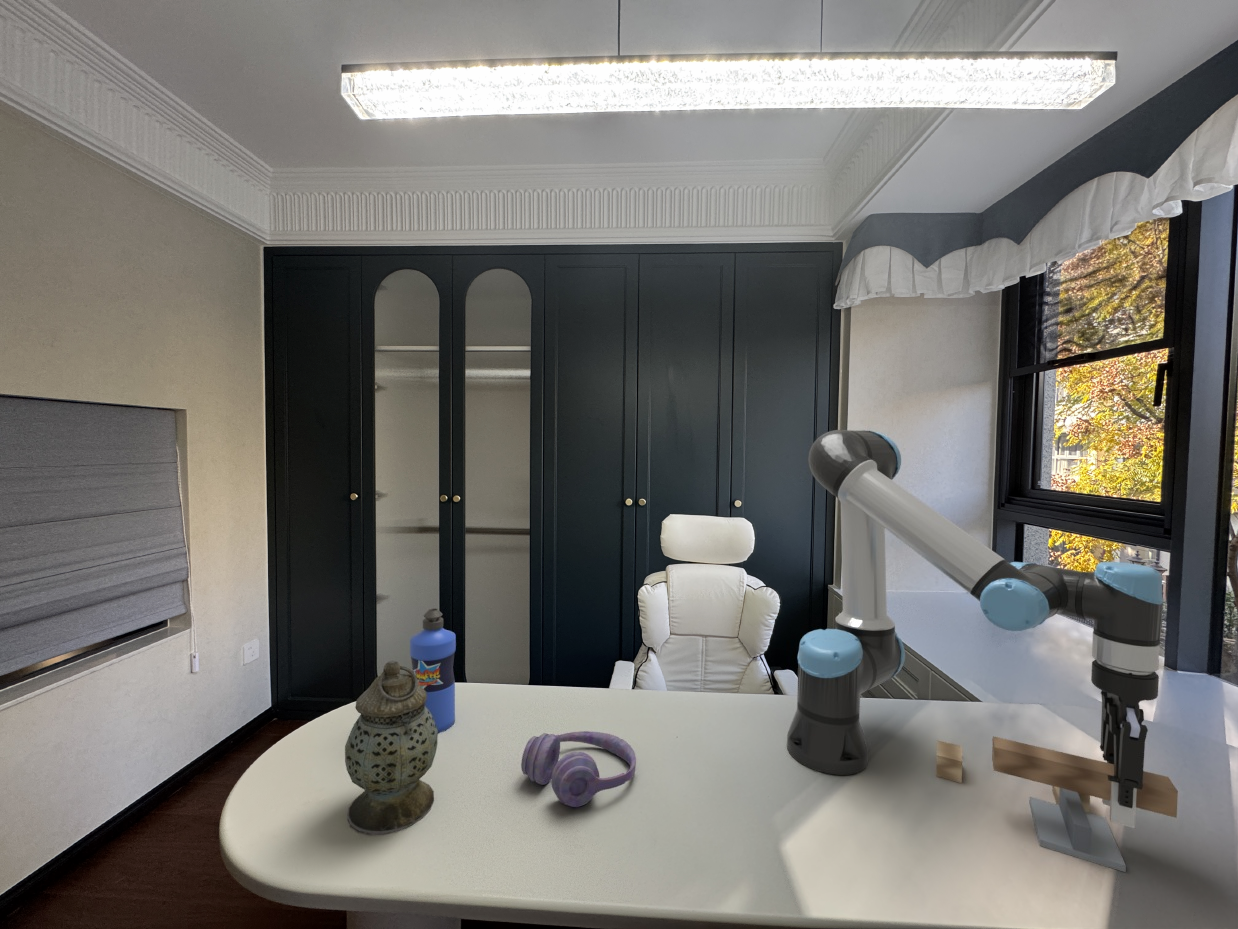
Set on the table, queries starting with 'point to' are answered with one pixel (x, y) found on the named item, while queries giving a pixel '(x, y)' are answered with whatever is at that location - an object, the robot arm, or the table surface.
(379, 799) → the lantern
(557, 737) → the headphones
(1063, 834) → the fulcrum
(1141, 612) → the robot arm
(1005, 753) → the walnut bar
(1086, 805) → the block
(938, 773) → the block
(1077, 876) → the table surface
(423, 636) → the water bottle
